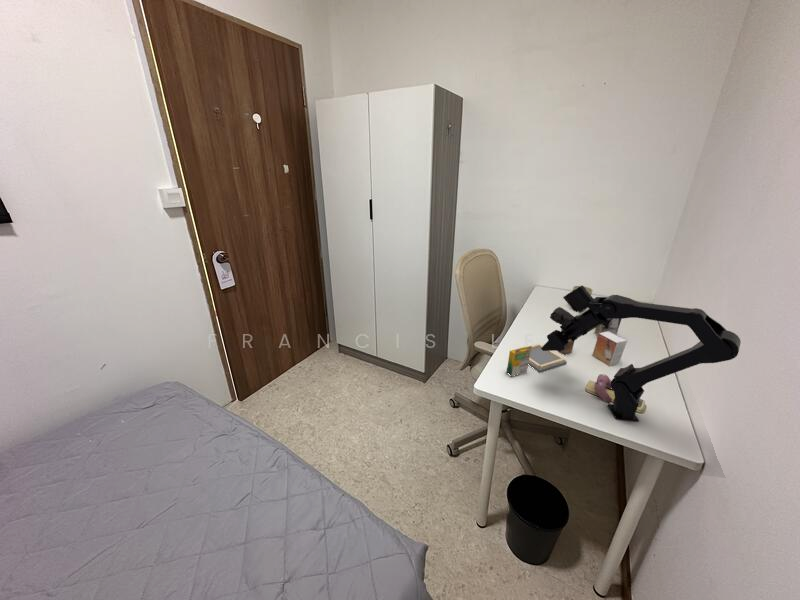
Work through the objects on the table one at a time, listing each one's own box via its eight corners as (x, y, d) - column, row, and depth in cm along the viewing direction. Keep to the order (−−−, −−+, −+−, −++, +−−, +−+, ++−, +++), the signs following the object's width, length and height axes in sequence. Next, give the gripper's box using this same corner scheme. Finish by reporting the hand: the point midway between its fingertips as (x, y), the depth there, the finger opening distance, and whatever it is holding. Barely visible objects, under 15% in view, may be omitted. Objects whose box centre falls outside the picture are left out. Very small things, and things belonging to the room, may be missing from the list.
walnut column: (571, 353, 137) (578, 327, 132) (564, 355, 135) (570, 328, 130) (563, 348, 140) (569, 322, 135) (556, 350, 138) (562, 324, 134)
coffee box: (614, 343, 144) (624, 310, 138) (597, 341, 146) (607, 307, 140) (609, 334, 152) (619, 301, 146) (594, 332, 154) (602, 299, 148)
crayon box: (521, 368, 126) (526, 342, 121) (527, 373, 123) (532, 346, 119) (505, 373, 123) (510, 345, 119) (511, 377, 121) (516, 349, 116)
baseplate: (566, 364, 129) (567, 359, 128) (539, 373, 123) (540, 368, 122) (538, 347, 141) (539, 342, 140) (512, 354, 135) (513, 349, 134)
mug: (563, 308, 178) (568, 287, 174) (576, 305, 182) (581, 284, 177) (581, 316, 169) (586, 294, 164) (594, 313, 173) (600, 291, 168)
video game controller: (602, 388, 118) (596, 370, 117) (617, 388, 115) (611, 370, 114) (596, 403, 111) (590, 383, 110) (612, 403, 108) (605, 383, 107)
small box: (591, 355, 135) (598, 332, 131) (601, 353, 137) (608, 330, 133) (609, 366, 128) (616, 342, 124) (619, 363, 130) (627, 340, 126)
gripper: (579, 295, 114) (545, 318, 125) (555, 310, 102) (520, 334, 113) (602, 321, 110) (565, 343, 122) (580, 340, 98) (541, 362, 110)
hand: (548, 344), depth 117 cm, fingers open, 9 cm apart
